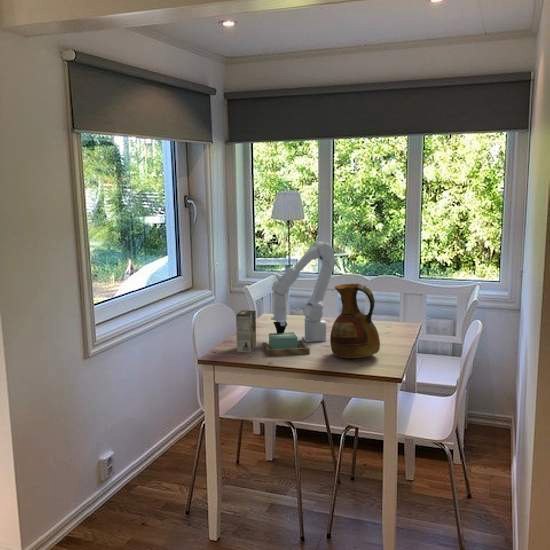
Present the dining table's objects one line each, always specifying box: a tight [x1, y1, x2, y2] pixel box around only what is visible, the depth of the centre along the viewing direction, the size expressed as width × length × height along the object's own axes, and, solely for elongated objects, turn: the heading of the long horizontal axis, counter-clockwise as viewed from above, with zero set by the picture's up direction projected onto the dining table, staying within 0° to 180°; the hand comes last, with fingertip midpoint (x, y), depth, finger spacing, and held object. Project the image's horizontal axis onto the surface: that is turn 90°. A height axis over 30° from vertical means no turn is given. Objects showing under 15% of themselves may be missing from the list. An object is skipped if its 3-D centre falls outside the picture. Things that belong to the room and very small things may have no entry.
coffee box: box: [235, 309, 257, 354], centre depth 251 cm, size 9×6×16 cm
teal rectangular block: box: [268, 331, 299, 349], centre depth 257 cm, size 11×9×5 cm
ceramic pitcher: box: [329, 283, 381, 359], centre depth 239 cm, size 20×20×30 cm
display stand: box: [262, 339, 311, 357], centre depth 250 cm, size 17×14×2 cm
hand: (280, 338), depth 262 cm, fingers closed
